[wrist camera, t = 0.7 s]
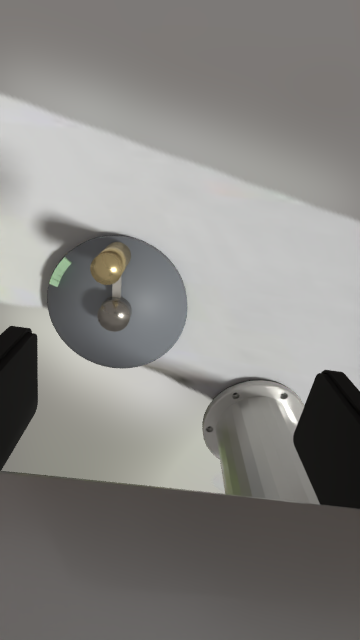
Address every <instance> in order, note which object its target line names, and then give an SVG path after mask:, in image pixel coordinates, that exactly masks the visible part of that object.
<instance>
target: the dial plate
mask: <svg viewBox="0 0 360 640" xmlns="http://www.w3.org/2000/svg"><path fill="white" fill-rule="evenodd" d="M113 242H121V243H123V244H125V245H126V246H127V247H128V248H129V250H130V252H131V259H130V262H129V263H128V265H127V267H126V268H125V270H124V272H123V273H122V286H121V297H123V298H125V299H126V300H127V301H128V302H129V303H130V305H131V308H132V314H131V317H130V320H129V323H128V325H127V326H126V327H125V328H124V329H123V330H121V331H117V332H113V331H108V330H106V329H105V328H103V327H102V326H101V325H100V323H99V321H98V317H97V314H98V311H99V309H100V307H101V305H102V304H103V302H104V301H105V300H106V299H107V298H109V297H111V296H112V284H111V285H103V284H100V283H99V282H97V281H96V280H95V279H94V278H93V276H92V274H91V271H90V266H91V263H92V261H93V259H94V258H95V257H96V256H98V255H99V254H100V253H101V252H102V251H103V250H104V249H105V248H106V247H107V246H108V245H110V244H111V243H113ZM47 303H48V310H49V315H50V318H51V321H52V323H53V326H54V327H55V329H56V331H57V333H58V334H59V336H60V337H61V339H62V340H63V341H64V342H65V343H66V344H67V345H68V346H69V347H70V348H71V349H72V350H73V351H74V352H76V353H77V354H79V355H80V356H82V357H83V358H85V359H87V360H89V361H91V362H93V363H96V364H99V365H102V366H107V367H112V368H132V367H138V366H142V365H145V364H148V363H150V362H153V361H155V360H156V359H158V358H160V357H161V356H163V355H164V354H165V353H166V352H168V351H169V350H170V349H171V348H172V347H173V345H174V344H175V343H176V341H177V340H178V338H179V337H180V335H181V333H182V331H183V328H184V325H185V321H186V317H187V296H186V291H185V287H184V284H183V281H182V278H181V276H180V274H179V272H178V270H177V269H176V268H175V266H174V265H173V263H172V262H171V261H170V260H169V259H168V258H167V257H166V256H165V255H164V254H163V253H162V252H161V251H159V250H158V249H156V248H155V247H154V246H152V245H150V244H148V243H146V242H144V241H141V240H139V239H136V238H132V237H127V236H118V235H112V236H102V237H97V238H94V239H91V240H88V241H86V242H84V243H82V244H80V245H79V246H77V247H76V248H74V249H73V250H71V251H70V252H69V253H68V254H67V255H66V256H64V257H63V258H62V260H61V261H60V262H59V264H58V265H57V266H56V268H55V270H54V272H53V274H52V276H51V279H50V282H49V286H48V293H47Z"/></svg>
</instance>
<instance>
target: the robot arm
mask: <svg viewBox="0 0 360 640" xmlns="http://www.w3.org/2000/svg"><path fill="white" fill-rule="evenodd" d="M37 382H38V381H37V335H36V334H32V331H31V329H30V328H22V327H15V326H10V327H9V328H7V329H6V330H5V331H4V332H3V333H2V334H1V335H0V640H360V391H359V390H358V389H357V388H356V387H355V386H354V384H353V383H352V382H351V381H350V380H349V379H348V377H347V376H346V375H345V374H344V373H343V372H337V371H330V370H324V371H323V372H322V373H319V374H317V376H316V378H315V380H314V383H313V385H312V388H311V391H310V393H309V396H308V398H307V401H306V403H305V406H304V404H303V403H302V401H301V399H300V398H299V397H298V396H297V395H296V393H294V392H293V391H292V390H290V389H289V388H288V387H285V386H283V385H281V384H279V383H275V382H271V381H263V380H256V381H247V382H243V383H239V384H236V385H234V386H232V387H229V388H228V389H226V390H224V391H223V392H221V393H220V394H219V395H218V396H217V397H215V398H214V399H213V401H212V402H211V403H210V405H209V406H208V408H207V410H206V412H205V414H204V418H203V435H204V440H205V443H206V445H207V447H208V448H209V450H210V451H211V452H212V453H213V454H214V455H215V456H216V457H217V458H218V459H220V462H221V468H222V475H223V481H224V488H225V494H220V493H211V492H202V491H192V490H183V489H173V488H164V487H154V486H145V485H135V484H126V483H115V482H106V481H96V480H86V479H76V478H67V477H55V476H46V475H36V474H27V473H17V472H6V471H1V470H2V468H3V466H4V465H5V463H6V461H7V460H8V458H9V456H10V455H11V453H12V451H13V449H14V448H15V446H16V444H17V443H18V441H19V439H20V438H21V436H22V434H23V432H24V430H25V429H26V428H27V426H28V424H29V422H30V421H31V419H32V417H33V416H34V414H35V412H36V409H37V403H38V388H37V387H38V383H37Z"/></svg>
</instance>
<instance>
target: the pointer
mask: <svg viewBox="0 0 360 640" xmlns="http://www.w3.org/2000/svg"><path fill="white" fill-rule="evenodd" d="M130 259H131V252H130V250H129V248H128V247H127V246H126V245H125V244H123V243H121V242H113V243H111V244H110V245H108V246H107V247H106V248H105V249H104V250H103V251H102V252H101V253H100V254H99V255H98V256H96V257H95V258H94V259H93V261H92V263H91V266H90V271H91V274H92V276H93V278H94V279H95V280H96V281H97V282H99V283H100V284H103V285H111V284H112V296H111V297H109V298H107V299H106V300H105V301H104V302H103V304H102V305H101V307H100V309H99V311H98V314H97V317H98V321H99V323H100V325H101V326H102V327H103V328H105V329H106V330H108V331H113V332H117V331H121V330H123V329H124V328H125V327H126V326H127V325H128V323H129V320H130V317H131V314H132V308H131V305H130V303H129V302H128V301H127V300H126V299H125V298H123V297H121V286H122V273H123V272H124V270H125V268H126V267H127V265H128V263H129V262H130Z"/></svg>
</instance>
